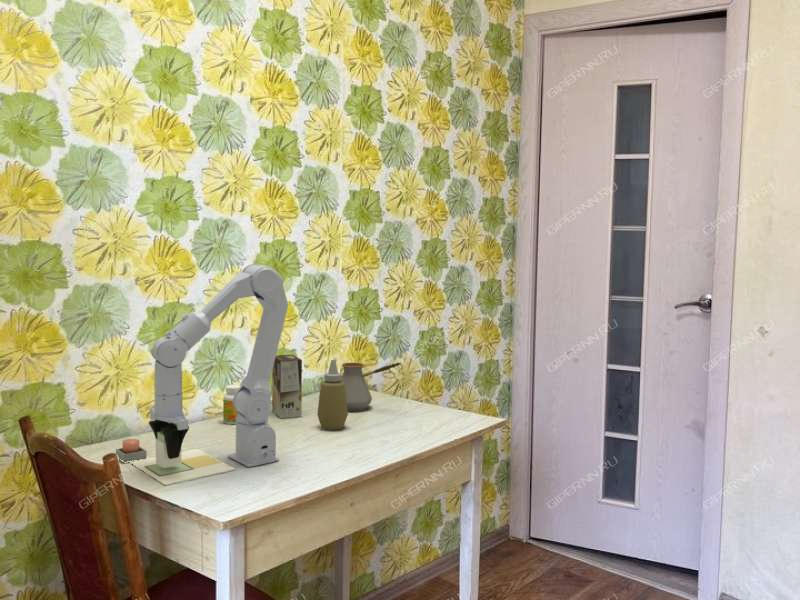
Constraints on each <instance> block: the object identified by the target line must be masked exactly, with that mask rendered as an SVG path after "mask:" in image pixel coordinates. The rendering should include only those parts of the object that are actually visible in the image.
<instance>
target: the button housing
mask: <svg viewBox="0 0 800 600" xmlns="http://www.w3.org/2000/svg"><path fill="white" fill-rule="evenodd" d="M116 454H117V455H118V457H119V459H121V460H123V461H124V462H127V461H132V460H133V461H134V460H140V459H146V458H147V450H146V449H144V448H143V447H141V446H140V451H139V452H134V453H129V454H124V453H123V447H120V448H116V449H115V455H116Z"/></svg>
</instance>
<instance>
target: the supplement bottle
mask: <svg viewBox="0 0 800 600" xmlns="http://www.w3.org/2000/svg"><path fill="white" fill-rule="evenodd" d="M240 386H241V384H240V385H239V384H228V385H226V387H225V392H226V393H225V394H224V395H223V399H222V400H223V405H222V406H223V410H222V411H223V415H222V416H223V418H222V420H223V423H224V424H227V425H236V417H237V414H238V412H237V411H236V410H235V408H234V406H233V398H234V395H235V394H236V392H237V391H238V390H239V388H240Z"/></svg>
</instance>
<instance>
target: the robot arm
mask: <svg viewBox="0 0 800 600" xmlns="http://www.w3.org/2000/svg"><path fill="white" fill-rule="evenodd" d="M284 287H285V286H284V279H283V277H282V276H281V275H280V274H279V272H278V271H277V270H276V269H275V268H273V267H271V266H265V265H264V266H263V265H261V264H257V263H252V264H251V263H250V264H248V265H247V266H245V267H244V268H243V270H242V271H239V272H238V273H237V274H235V275H234V276H233V277H232V278H231V280H230V281H228V283H226V284H225V286H224V287H222V289H220V291H219V292H217V293H216V294H215V296H213V298H211V300H210V301H208V303H207V304H206V305H205V306H204V307H203V308H202V309H201V310H200V311H191V312H189V313H184V314H182V316H181V319H182V320H181V321H179V322H178V323H177V324H176V325H175V326H174V327H173V328H172V329H171V330H168V329H167V331H165V333H164V335H165V336H163V337H160V338H158V339H157V340H156V341H154V344H152V345H153V346H152V348H151V349H150V353H151V356H152V357H153V359H154V360H155V361H154V373H153V375H154V380H153V381H154V382H153V383H154V387H153V388H154V406H151V407H149V408H150V410H149V413H150V415H149V417H148V418H149V419H150V421H148V424H149V427H150V429H151V430H152V433H153V434H154V438H155V440H156V439H158V437H157V432H161V431H162V433H163V435H164V438H165V441H166V448H167V454H168V458H169V459H172V458H177V457H179V454H180V450H181V451H182V446H183V442H184V439H185V436H187V433H188V431H189V429H190V426H189V419H187V417H186V416H185V414H184V412H183V371H182V369H183V367H182V366H183V364H182V363H183V362H184V361H185V359H186V355H187V352H189V351H190V350H191V349H192V348H193V347H194V346H195V345H196V344H197V343H199V341H201V340H202V339H203V338H204V337H205V336H206V335H207V334H208V333H209V332H210V331H211V324H212V323H213V321H214V320H215V319H216V318H218V317H219V316H220V315H221V314H223V312H225V311H226V310H227V309H228V308H229V307H230V306H232V305H233V304H235V302H236V301H237V300H239V299H243V298H244V299H245V298H251V297H255V298H256V299H257V301H258V303H259V304H260V305H261V307H262V308H263V310H262V312H261V313H262V314H261V318H260V321H259V325H258V330H257V333H256V338H255V342H254V346H253V350H252V354H251V357H250V362H249V366H248V370H247V373H246V376H245V377H244V378H243V380H241V383H240V388H239V390H238V391H237V392H236V394H235V395H234V398H233V406H234V408H235V410H236V411H237V412H238V414H237V417H236V424H235V453H229V454H228V455H227V457H228V458H230V459H232V460H234V461H235V462H237V463H240V464H242V465H244V466H246V467H249V468H251V467H256V466H260V465H265V464H269V463H273V462H277V461H278V462H279V461H280V458H279V457H278V456H277V457H276V455H277V454H276V453H277V451H276V447H277V442H276V441H277V434H276V431H275V430H274V428H273V427H271V426H270V424H269V417H270V415H271V413H272V402H271V398H272V397H271V396H272V388H271V382H270V380H271V377H272V369H273V365H274V361H275V357H276V356H277V352H278V349H279V344H280V340H281V337H282V333H283V329H284V324H285V320H286V316H287V312H288V309H289V308H288V307H289V303H288V299H287V296H286V293H285V292H286V291H285V288H284Z"/></svg>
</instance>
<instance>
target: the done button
mask: <svg viewBox="0 0 800 600" xmlns="http://www.w3.org/2000/svg"><path fill="white" fill-rule="evenodd" d="M140 444H141V443H140V439H138V438H128V439H124V440H122V448H123V453H124V454H129V453H134V452H139V451H140V447H141V446H140Z"/></svg>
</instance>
